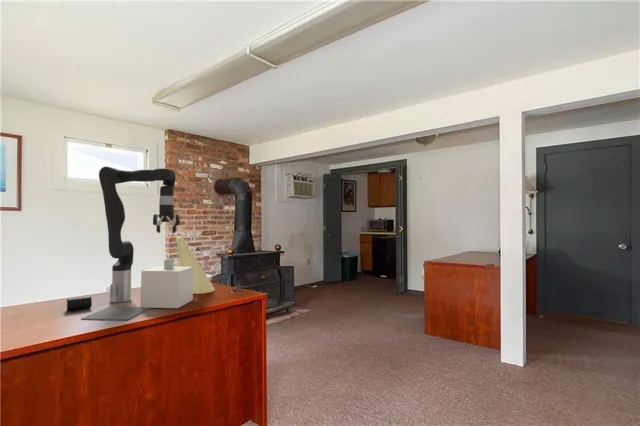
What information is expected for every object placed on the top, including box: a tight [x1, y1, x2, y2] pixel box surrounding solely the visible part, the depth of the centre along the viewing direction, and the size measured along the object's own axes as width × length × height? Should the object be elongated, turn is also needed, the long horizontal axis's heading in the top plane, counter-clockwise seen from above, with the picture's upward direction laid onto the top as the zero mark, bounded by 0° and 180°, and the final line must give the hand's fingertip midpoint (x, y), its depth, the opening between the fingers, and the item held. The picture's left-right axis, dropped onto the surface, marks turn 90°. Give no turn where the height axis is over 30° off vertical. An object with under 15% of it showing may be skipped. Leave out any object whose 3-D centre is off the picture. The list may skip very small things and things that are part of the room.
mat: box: [80, 305, 151, 322], centre depth 172 cm, size 22×22×1 cm
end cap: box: [66, 295, 93, 313], centre depth 177 cm, size 10×7×7 cm
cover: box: [139, 258, 194, 309], centre depth 191 cm, size 20×20×24 cm
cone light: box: [175, 236, 216, 295], centre depth 223 cm, size 25×18×35 cm
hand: (166, 232), depth 199 cm, fingers open, 8 cm apart
